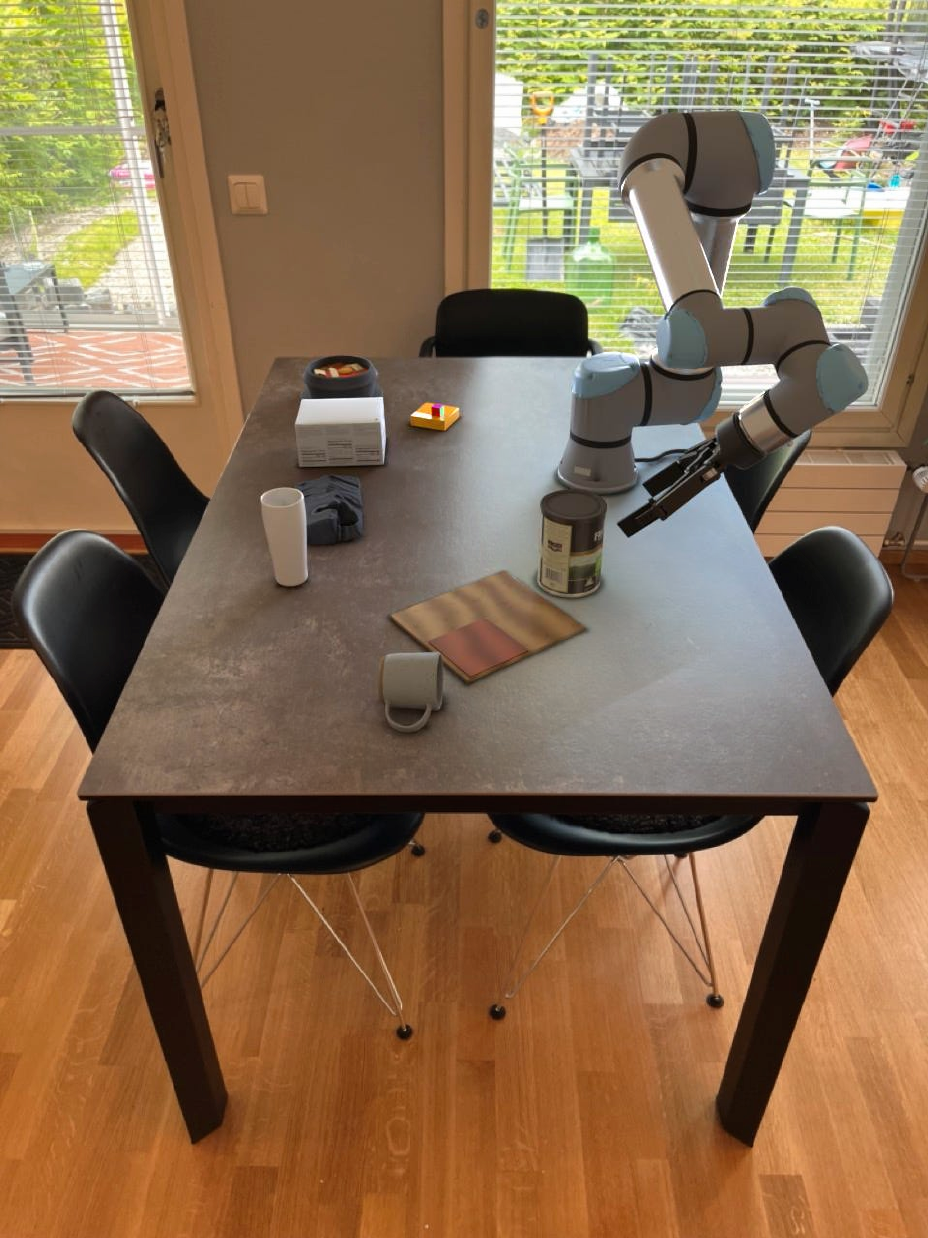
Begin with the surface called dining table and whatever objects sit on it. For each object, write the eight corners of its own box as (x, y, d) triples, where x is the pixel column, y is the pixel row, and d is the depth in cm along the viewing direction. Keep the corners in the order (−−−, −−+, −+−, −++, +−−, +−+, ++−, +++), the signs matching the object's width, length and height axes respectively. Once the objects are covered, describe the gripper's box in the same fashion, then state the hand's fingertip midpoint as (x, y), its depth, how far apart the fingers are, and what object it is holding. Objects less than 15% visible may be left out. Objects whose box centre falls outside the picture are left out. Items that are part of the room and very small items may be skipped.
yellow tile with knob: (410, 425, 209) (409, 406, 206) (426, 411, 215) (425, 393, 212) (444, 431, 206) (444, 412, 204) (459, 417, 212) (459, 398, 210)
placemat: (503, 573, 159) (504, 569, 159) (585, 630, 146) (585, 625, 145) (390, 618, 149) (390, 614, 148) (467, 684, 135) (467, 679, 135)
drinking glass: (320, 572, 160) (311, 490, 151) (301, 593, 155) (291, 510, 146) (283, 565, 162) (272, 484, 153) (263, 586, 156) (251, 503, 148)
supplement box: (386, 438, 203) (383, 395, 198) (384, 466, 192) (381, 421, 187) (305, 439, 203) (300, 397, 197) (298, 467, 192) (293, 423, 187)
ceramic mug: (386, 683, 136) (383, 639, 131) (444, 685, 135) (443, 641, 131) (374, 734, 127) (371, 689, 123) (437, 737, 126) (435, 692, 122)
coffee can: (602, 567, 161) (609, 491, 153) (597, 601, 152) (604, 522, 144) (541, 561, 162) (544, 485, 154) (532, 594, 154) (535, 516, 146)
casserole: (381, 423, 210) (379, 386, 205) (295, 425, 209) (291, 388, 204) (385, 380, 230) (383, 346, 225) (306, 382, 230) (303, 347, 225)
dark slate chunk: (372, 486, 185) (370, 464, 182) (361, 545, 167) (359, 521, 164) (292, 486, 185) (289, 464, 182) (272, 545, 167) (269, 521, 164)
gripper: (753, 492, 123) (628, 568, 136) (784, 419, 142) (671, 493, 155) (718, 446, 122) (594, 527, 135) (754, 379, 140) (642, 457, 154)
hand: (635, 509), depth 145 cm, fingers open, 13 cm apart
